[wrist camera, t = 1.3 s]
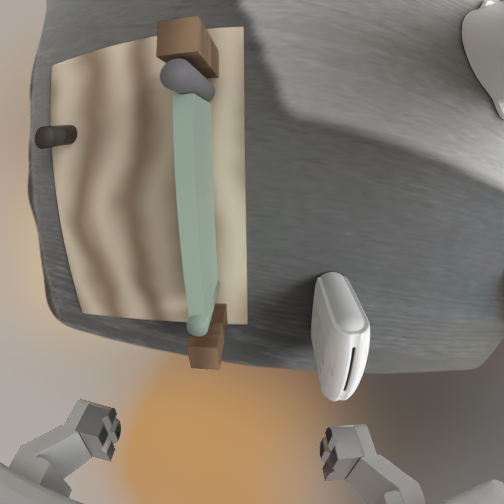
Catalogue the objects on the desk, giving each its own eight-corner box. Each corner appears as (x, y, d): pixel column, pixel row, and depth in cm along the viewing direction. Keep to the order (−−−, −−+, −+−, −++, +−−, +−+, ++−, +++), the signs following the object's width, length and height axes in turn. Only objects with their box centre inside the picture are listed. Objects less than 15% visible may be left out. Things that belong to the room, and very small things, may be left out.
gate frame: (243, 28, 25) (234, -18, 14) (247, 321, 38) (242, 384, 27) (54, 66, 26) (-4, 56, 15) (84, 311, 38) (46, 357, 28)
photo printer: (339, 338, 38) (360, 408, 27) (308, 340, 38) (320, 412, 27) (348, 270, 34) (382, 332, 23) (313, 270, 35) (334, 336, 23)
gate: (191, 82, 26) (160, 61, 17) (215, 80, 26) (193, 56, 17) (202, 291, 35) (182, 343, 26) (222, 291, 35) (208, 345, 26)
